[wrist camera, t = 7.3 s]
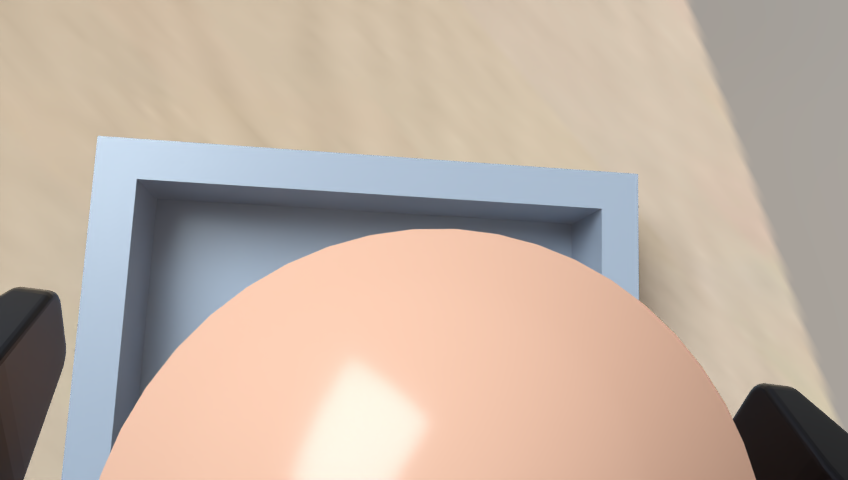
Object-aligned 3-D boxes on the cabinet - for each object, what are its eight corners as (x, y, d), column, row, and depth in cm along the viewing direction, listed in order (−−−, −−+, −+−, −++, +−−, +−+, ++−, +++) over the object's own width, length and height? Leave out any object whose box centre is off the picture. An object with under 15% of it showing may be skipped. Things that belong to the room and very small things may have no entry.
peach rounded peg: (474, 555, 16) (781, 945, 6) (228, 554, 16) (33, 1002, 5) (480, 313, 17) (759, 247, 6) (246, 303, 16) (114, 209, 6)
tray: (595, 680, 17) (642, 736, 14) (77, 691, 15) (32, 755, 13) (595, 197, 19) (637, 173, 16) (129, 167, 17) (97, 135, 15)
